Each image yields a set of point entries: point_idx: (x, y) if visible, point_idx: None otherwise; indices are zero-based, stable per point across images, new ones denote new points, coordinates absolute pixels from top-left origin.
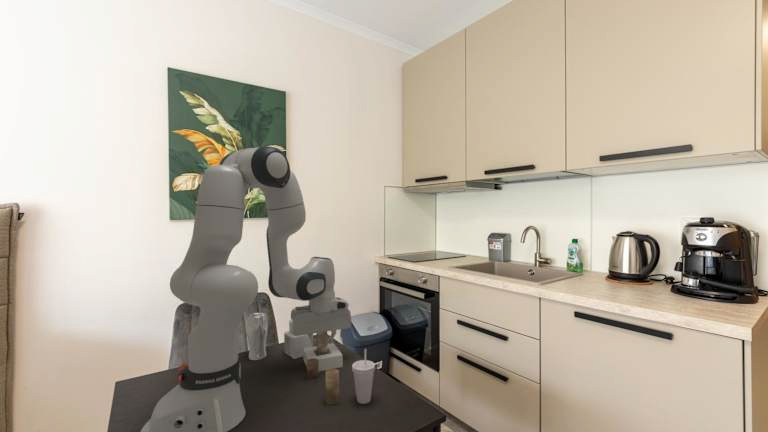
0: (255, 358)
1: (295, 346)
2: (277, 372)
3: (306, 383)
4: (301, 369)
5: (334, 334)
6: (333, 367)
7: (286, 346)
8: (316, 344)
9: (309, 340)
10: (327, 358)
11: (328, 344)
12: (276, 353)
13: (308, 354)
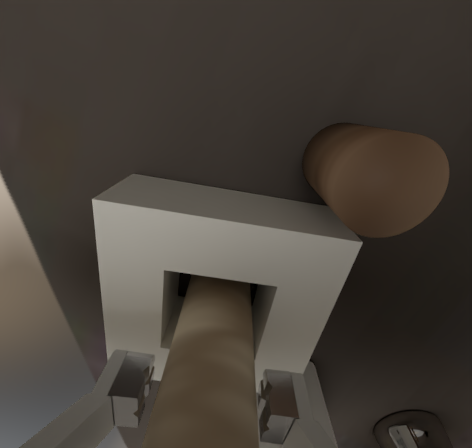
0: (434, 420)
1: (322, 425)
2: (439, 298)
3: (416, 97)
4: None
5: (47, 439)
6: (189, 185)
7: None
8: (267, 377)
9: None
10: (223, 216)
11: None
12: (339, 420)
13: (309, 328)
